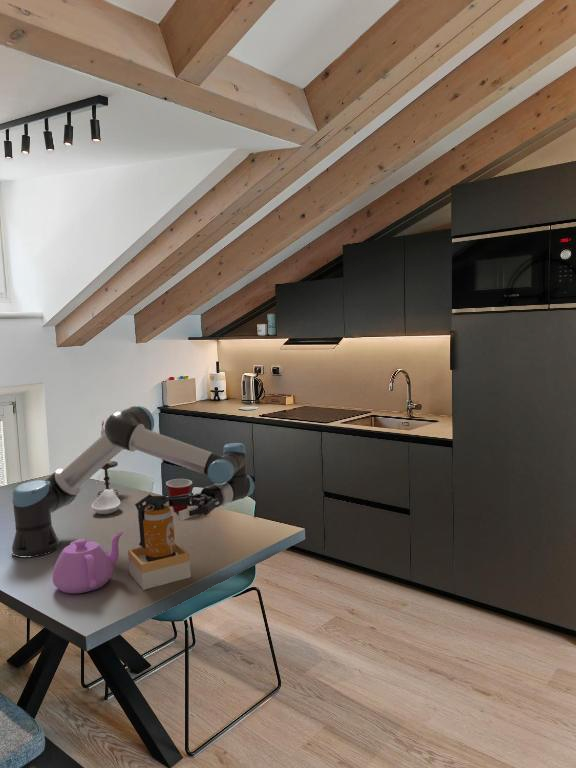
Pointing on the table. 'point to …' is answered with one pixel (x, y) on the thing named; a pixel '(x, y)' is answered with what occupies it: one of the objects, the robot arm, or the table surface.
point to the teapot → (85, 566)
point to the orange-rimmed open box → (158, 567)
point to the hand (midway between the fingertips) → (165, 512)
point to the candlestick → (107, 466)
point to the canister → (156, 528)
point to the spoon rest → (106, 502)
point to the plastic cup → (179, 490)
